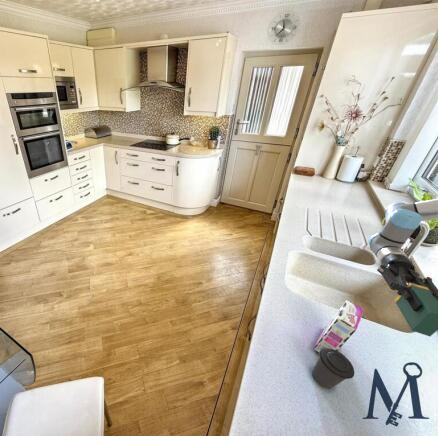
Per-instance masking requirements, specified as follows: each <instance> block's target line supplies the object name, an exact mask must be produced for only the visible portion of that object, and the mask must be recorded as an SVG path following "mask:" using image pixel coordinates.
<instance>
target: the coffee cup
mask: <svg viewBox="0 0 438 436" xmlns="http://www.w3.org/2000/svg"><path fill="white" fill-rule="evenodd" d="M311 376H312V379H313V380H314V382H315V383H316V384H317V385H318V386H319V387H321V388H323V389H327V390H329V389H332V388H334V387H335V386H338V385H339V384H341V383H342V382H343V381H345V380H349V379H353V378H354V377H355V368H354V365H353V364H352V362H351V361H350V359H349V358H348V357H347V356H346V355H344V354H343V353H341V352H340V351H339V350H338V351H336V350H334V349H330V348H325V349H322V350H321V351H320V354H319V356H318V359H317V361H316V363H315V366H314V367H313V369H312V371H311Z"/></svg>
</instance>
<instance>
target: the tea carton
mask: <svg viewBox="0 0 438 436" xmlns="http://www.w3.org/2000/svg"><path fill="white" fill-rule="evenodd" d="M407 286H408V290H409V289H412V290H413V291H414V293H415V294H416V296H417V297H418V299H419V300H420V301H421V303H422V304H423V306H422V307H421V308H420V309H419V310H418V311H417V312H416V311H414V310H413V309H412V307H411V306H410V304H409V303H408V301H407V300H406V299H405V298H404V297H403V296H401V295H398V294H397V296H396V297H395V298H394V299H393V301H394V303H395V304H396V306H397V308H398V309H399V311H400V312H401V314H402V316H403V318H404V320H405V322H406V323H407V325H408V326H409V328H410V330H411V331H412V332H414V333H418V334H421V335H424V336H427V337H432V336H433V335H434V334H435V333H436V332H438V301H437V300H436V299H435V298H434V296H433V295H432V294H431V292H430V291H429V289H428V288H427V287H423V286H420V285H416V284H413V283H409V284H408V283H407Z"/></svg>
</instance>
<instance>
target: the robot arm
mask: <svg viewBox="0 0 438 436" xmlns="http://www.w3.org/2000/svg"><path fill="white" fill-rule="evenodd" d="M384 216H385V224H384V226H383V227H382V228H381V230H380V231H379V232H377V233H374V234H373V235H371V236H370V237H369V238H368V245H369V248H370V250H371V251H372V252H373V254H374V255H375V257H376V259H377V260H378V262H379V264H380V265H379V267H378V268H377V269H376V271H377V272H378V273H379V274H380V275H381V276H382V278H383V279H384V281H385V282H386V284H387V286H388V287H389V288H390V290H392V291H397V292H396V294H397V296H398V295H401V296H403V297H404V298H405V299H406V300H407V301H408V303H409V304H410V306H411V307H412V309H413V310H414V311H416V312H417V311H418V310H419V309H420V308H421V307H422V306H423V304H422V303H421V301H420V300H419V299H418V297H417V296H416V294H415V293H414V291H413V290H412V289H409V290H408V286H407V285H408V284H409V283H413V284H416V285H420V286H423V287H427V288H428V289H429V291H430V292H431V294H432V295H433V296H434V298H435V299H436V300H437V301H438V287H437V286H436V285H435V283H434V282H433V279H432V277H430V276H426V277H424V276H421V274H419V272H417V271H416V267H415V264H414V263H413V262H412V260H411V259H410V258H409V257H408V255H407V254H406V253H405V252H404V250H403V249H402V247H403V246H404V245H405V244H406V242H407V241H408V240H409V238H410V237H411V236H412V234H414V232H415V231H416V229H418V228H419V227H420V224H421V222H425V221H434V220H438V198H434V199H428V200H422V201H417V202H410V203H405V202H394V203H391V204H389V205H388V206H387V207H386V209H385V212H384Z"/></svg>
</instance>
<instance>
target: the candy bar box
mask: <svg viewBox="0 0 438 436" xmlns="http://www.w3.org/2000/svg"><path fill="white" fill-rule="evenodd" d="M364 311H365V309H364V308H362V307H361V306H359V305H356V304H354V303H353V302H352V301H349V300H347V299H346V300H345V301H344V302H343V304H342V305H341V306H340V308H339V309H338V310H337V312H336V313H335V314H334V315H333V317H332V318H331V320H330V321H329V322H328V323H327V325H326V326H325V327H324V329H322V332H321V333H320V335H319V337H318V339H317V341H316V343H315V344H314V346H313V348H312V349H313V351H314V352H316V353H318V354H319V355H320V351H321V350H322V349H325V348H330V349H334V350H336V351H338V352H339V350H340V349H341V348H342V347H343V345H344V344H345V343H346V342H347V341H348V340H349V339H350V338H351V337H352V336H353V335H354V333H356V331H357V330H358V327H359V324H360V322H361V319H362V317H363V314H364Z"/></svg>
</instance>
